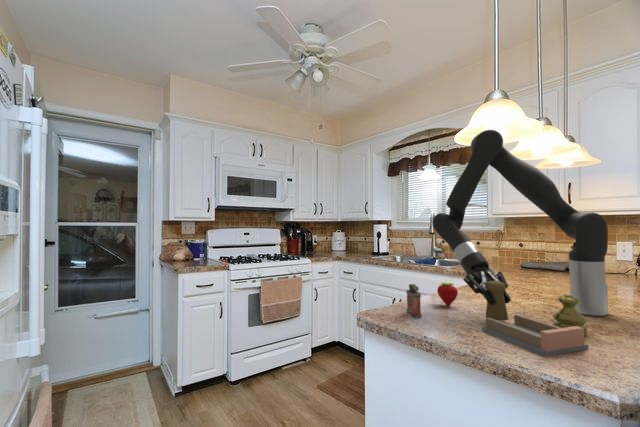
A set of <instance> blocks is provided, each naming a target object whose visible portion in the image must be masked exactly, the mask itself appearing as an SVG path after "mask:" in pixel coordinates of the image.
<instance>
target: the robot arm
mask: <svg viewBox="0 0 640 427" xmlns="http://www.w3.org/2000/svg"><path fill="white" fill-rule="evenodd" d="M470 148H471V151H472V153H471V156H470V158H469V160H468V163H467V165H466V167H465V168H464V170H463V172H462V174H460V177H459V178H458V179H457V181H456V183H455V184H454V186H453V188H452V189H451V192H450V194H449V196H448V198H447V200H446V203H445V204H446V206H447V207H448V208H449V213H448V214H447V213H445V212H444V213H443V212H441V213H440V212H439V213H436V215H434V217H433V219H432V226H433V229H434V231H435V232H436V233H437V234H438V235H439V237H441V239H442V240H443V241H445V242H446V244H448V246H449V248H450V249H451V251H452V253H453V254H454V256H455V257H456V258H455V259H456V260H457V262H458V263H459V265H460V266H461V267H462V270H464V272H465V274H466V275H465V276H464V278H463V279H462V280H463V281H464V282H465V283H466V284H467V286H468V287H469V288H470V290H472V291H473V292H474V293H475V294H476V295H477V294H480V295H482V296H483V297H484V299H485V300H486V303H487V302H488V303H489V304H490V305H494V304H495V303H496V300H495V298H494V297H493V295H492V294H491V292H490V291H488V288H487V286H486V285H487V282H489V281H499V282H502V283H504V285H505V291H504V299H505V304H510V302H511V301H512V298H511V296H510V295H509V294H508V292H507V291H506V289H507V288H508V287H509V284H508V282H507V280H506V278H505V276H504V274H503V272H502V271H497V272H494V271H493V270H492V269H491V268H490V265H489V262H488V260H487V259H486V258H485V257H484V255H483V254H482V252H481V251H480V249H479V248H478V247H477V246H476V245H475V243H473V242H472V240H471V239H470V238H469V236H468V234H466V233H465V232H464V231H462V230H461V229H462V228H463V223H464V219H465V214H466V209H467V208H468V205H469V203H470V202H471V200H472V198H473V196H474V193H475V191H476V189H477V188H478V185H479V183H480V181H481V179H482V178H483V175H484V174H485V172H486V170H487V169H488V168H489V166H491V167H492V168H493V169H495V170H496V171H497V172H498V173H499V174H500V175H501V176H502V177H503V178H504V179H505V180H506V181H507V182H508V183H509V184H510V185H511V186H513V188H515V189H516V190H517V191H518V192H519V193H520V194H521V195H522V196H523V197H525V199H527V200H528V201H530V202H531V203H532V204H533V205H535V206H536V207H537V208H538V209H540V211H542V213H544V214H545V215H547V216H548V217H549V218H550V219H551V220H552V221H553V222H554V223H555V224H556V225H557V226H558V228H559V229H560V230H561V231H562V232H563V233H564V234H566V236H568V237H570V238H571V239H574V240H575V243H574V244H575V245H574V247H573V249H572V250H570V251H569V252H568V270H569V271H568V272H569V292H570V293H569V295H571V296H573V297H575V298H577V299H579V300H580V303H579V304H577V305H576V306H575V309H576V310H577V311H578V312H580V314H581V315H584V316H585V315H586V316H594V317H595V316H597V317H604V316H607V315H608V314H609V296H608V295H609V294H608V293H609V292H608V285H607V283H606V282H607V281H606V279H607V278H606V263H605V260H606V255H607V254H608V249H609V248H608V244H609V243H608V241H609V239H608V238H609V233H608V232H609V228H608V223H607V221H606V219H605V218H604V216H602V215H601V214H599V213H596V212H580V211H578V210H577V209H576V208H574V207H572V206H571V205H570V204H569V203H567V202H566V201H565V199H564V198H563V197H562V195H561V193H560V192H559V189H558V187H557V186H556V184H555V182H553V180H551V179H550V177H548V176H547V175H546V174H545V173H544V172H542V171H541V170H540V169H538V167H535V166H534V165H532V164H530V163H528V162H527V161H525V160H523V159H520V158H519V157H517V156H515V155H514V154H512V153H511V151H509V149H507V148H506V147H505V146H504V138H503V134H501V132H499V131H498V130H494V129H485V130H483V131H481V132H479V133H478V134H477V135H475V136H474V137H473V138H472V139H471V142H470Z"/></svg>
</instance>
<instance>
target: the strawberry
mask: <svg viewBox="0 0 640 427" xmlns="http://www.w3.org/2000/svg"><path fill="white" fill-rule="evenodd" d="M444 280H445V282H441V284H439V285H438V287H437V289H436V290H437V293H438V296H439V298H440V299H441V301H442V302H443V303H444V304H445V305H446V306H447V307H450V306H451V305H452V303H454V302H455V300H456V299H457V297H458V293H459V291H458V289H457V287H456V286H454V283H450V282H447V280H446V278H445V279H444Z"/></svg>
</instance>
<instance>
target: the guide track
mask: <svg viewBox="0 0 640 427" xmlns="http://www.w3.org/2000/svg"><path fill="white" fill-rule="evenodd" d="M513 316H514V323H505V322H503V321H497V320H495V319H492V318H486V317H485V326H484V327H483V326H482V328H481V329H482V330H481V331H482V332H484V333H486V334H488V335H490V336H493V337H496V338H498V339H500V340H503V341H505V342H508V343H509V344H513V345H515V346H518V347H520V348H522V349H525V350H527V351H530V352H532V353H534V354H537V355H539V356H542V357H549V356H554V355H562V354H565V353H572V352H579V351H584V350H589V347H590V346H589V344H588V343H585V336H584V328H581V327H578V326H574V327H567V328H561V327H557V326H554V325H553V324H550V323H548V322H547V323H546V322H544V321H540V320H538V319H534V318H531V317H528V316H524V315H521V314H514V315H513Z"/></svg>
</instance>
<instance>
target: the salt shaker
mask: <svg viewBox="0 0 640 427" xmlns="http://www.w3.org/2000/svg"><path fill="white" fill-rule="evenodd" d="M557 301H558V302H559V303H561V305H562V307H561V308H560V309H558V311H555V312H554V313H553V314H552V319H554V321H552V323H553V324H552V325H554V326H557V327H561V328H567V327H574V326H578V327H581V328H584V337H585V336H587V335H588V326H587V325H586V324H587V321H588V319H587V317H586V316H585V315H584V314H580V312H578V311H577V310H576V309H575V306H576V305H577V304H579V303H580V300H579V299H577V298H575V297H573V296H571V295H570V294H565V295H564V294H563V295H562V296H558V297H557Z"/></svg>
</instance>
